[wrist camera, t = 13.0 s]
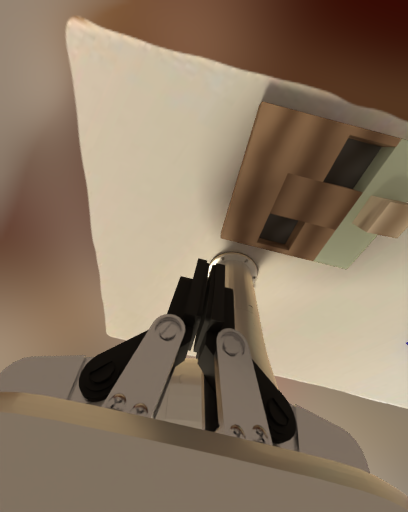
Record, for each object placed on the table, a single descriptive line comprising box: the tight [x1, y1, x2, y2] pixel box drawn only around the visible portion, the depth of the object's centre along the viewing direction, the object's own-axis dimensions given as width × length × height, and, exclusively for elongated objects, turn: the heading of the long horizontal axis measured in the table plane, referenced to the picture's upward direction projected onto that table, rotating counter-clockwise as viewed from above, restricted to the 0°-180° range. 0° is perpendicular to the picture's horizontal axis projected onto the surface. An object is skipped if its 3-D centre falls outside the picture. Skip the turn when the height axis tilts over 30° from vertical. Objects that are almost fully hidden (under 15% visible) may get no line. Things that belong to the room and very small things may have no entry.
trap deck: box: [221, 102, 401, 261], centre depth 31 cm, size 20×22×3 cm
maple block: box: [352, 195, 408, 238], centre depth 28 cm, size 5×5×4 cm
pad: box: [314, 139, 408, 269], centre depth 31 cm, size 8×22×3 cm, turn 168°
